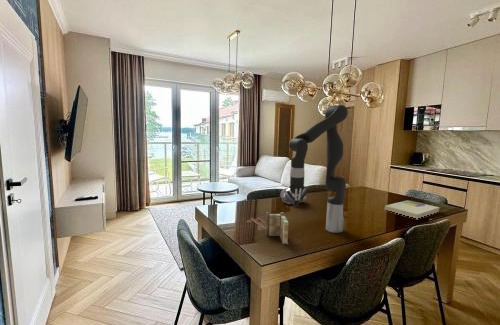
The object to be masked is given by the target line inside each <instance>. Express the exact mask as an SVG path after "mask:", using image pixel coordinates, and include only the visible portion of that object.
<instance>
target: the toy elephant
mask: <svg viewBox="0 0 500 325" xmlns="http://www.w3.org/2000/svg"><path fill="white" fill-rule="evenodd" d="M289 187H290V186H287V187H285V188H283V189H282V190H281V191H280V194H279V196H280V198H281V199H282V202H284V203H285V204H287V205H293V201H294V200H292V199H291V198H290V197H289V196H288V194H287V193H286V192H285V191H286V190H288V189H289ZM290 191H291V190H290ZM302 192H303V191H302ZM290 194H291V195H292V196H293V193H292V192H291V193H290ZM307 197H308V196H307V195H305V196H304V198H303V199H300V200H299V204H300V203H302V202H304V201H306V199H307Z"/></svg>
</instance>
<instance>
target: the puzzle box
mask: <svg viewBox="0 0 500 325" xmlns="http://www.w3.org/2000/svg"><path fill="white" fill-rule="evenodd" d="M385 210H388V211H392V212H395V213H394V214H396V213H398V214H397V215H399V214H402V215H401V216H403V215H405V216H404V217H406V216H409V217H408V218H410V217H413V218H416V219H415V220H419V219H418V218H420V219H422V218H421V217H423V218H425V217H424V216H426V217H428V216H427V215H429V216H431V215H430V214H432V215H435V214H438V213H439V212H440V207H439V206H434V205H430V204H426V203H421V202H417V201H413V200H402V201H400V202H399V201H398V202H394V203H391V204H386V205H384V211H385ZM388 211H387V212H388ZM392 212H391V213H392ZM437 212H438V213H437ZM434 213H435V214H434ZM413 218H412V219H413Z"/></svg>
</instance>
